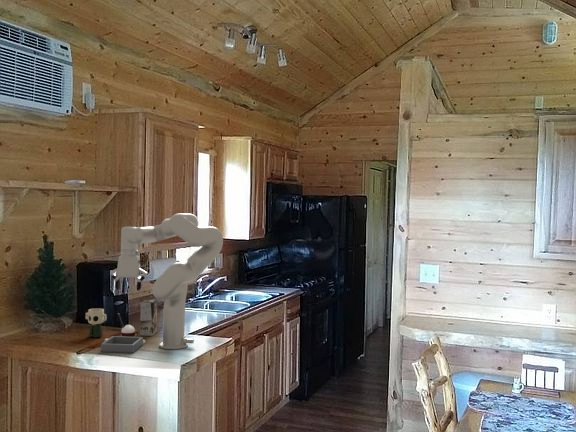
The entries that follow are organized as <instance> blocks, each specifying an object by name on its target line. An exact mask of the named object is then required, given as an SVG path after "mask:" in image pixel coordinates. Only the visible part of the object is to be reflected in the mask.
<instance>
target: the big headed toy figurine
mask: <svg viewBox="0 0 576 432" xmlns="http://www.w3.org/2000/svg"><path fill="white" fill-rule="evenodd" d="M85 320H87V322H88V324H90V325H89V329H88V330H89V331H88V337H89V338H91V337H92V336H93V337H92V338H99V337H102V336H103V326H102V324H103V323H104V322H106V321H107V314H106V313H105V309H104V308H90V309H88V310H87V312H85Z"/></svg>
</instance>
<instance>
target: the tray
mask: <svg viewBox="0 0 576 432" xmlns="http://www.w3.org/2000/svg"><path fill="white" fill-rule="evenodd" d="M107 339H108V340H106V341H105V340H104V341H103V342H101V343H100V353H115V354H116V353H117V354H135V353H136V352H137V351H138V350H139V349H140V348H141V347H143V346H144V344H143V340H144V336H137V337H136V336H134V337H125V336H122V335H120V336H119V335H117V336H116V335H112V336H110V337H109V338H107Z"/></svg>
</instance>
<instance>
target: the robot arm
mask: <svg viewBox="0 0 576 432" xmlns="http://www.w3.org/2000/svg"><path fill="white" fill-rule="evenodd" d="M120 231H121V233H120V255H119V256H118V260H117V268H115V269H113V270H110V273H109V274H110V275H111V278H112V279H113V280H114V281H115V288H116V289H115V290H117V291H118V290H120V289H121V278H123V279H124V278H125V279H126V278H127V279H129V278H130V279H136V280H137V282H136V291H138V292H139V291H140V290H141V289H142V281H144V279H146V277H147V275H148V272H147V271H145V270H144V269H142V268H141V259H140V254H141V251H140V250H139V249H138V247H139V246H138V244H139V245H140V244H149V243H151V244H152V243H153V244H154V243H156V242H160V241H164V240H167V239H170V238H174V237H179V238H180V239H182V240H183V241H184V242H186V243H188V244H189V245H190V246H193V247H196V248H198V249H196V250H195V251H194V252H193V253H192V255H190V256H189V257H188V258H187V259H186V260H183V261H177V262H174V263H172V264H170V265H169V266H168V267H167V268H166V269H165V270H164V271H163V272H162V274H160V275H159V277H157V279H156V280H155V281H154V283H153V286H152V289H151V290H152V295H153V297H154V298H156V300H160V301H164V304H163V314H162V315H163V317H162V319H163V323H162V341H161V342H160V343H159V344H158V346H159V348H161V349H165V350H180V349H185V348H187V347H188V344H194V342H195V339H193V338H192V337H191V338H188V337H187V334H185V323H186V300H187V295H188V283H192V282H194V281H196V279H197V278H199V276H200V275H201V274H202V273H203V272H204V271H205V270H206V269H208V267H209V265H211V263H212V262H213V261H214V260H215V259H217V258H218V256H219V255H220V254H221V251H222V249H223V244H224V237H223V234H222V231H221V230H220V229H219V228H217V227H215V226H210V225H208V226H199V220H198V217H197V215H195V214H192V213H186V212H185V213H175V214H174V215H171V217H169V218H165V219H163V220H162V221H161V224H157V225H153V226H140V227H139V226H137V227H136V226H123V227H122V228H121V230H120ZM115 273H116V274H115ZM141 274H143V275H142V276H141Z"/></svg>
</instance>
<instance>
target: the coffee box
mask: <svg viewBox="0 0 576 432" xmlns="http://www.w3.org/2000/svg"><path fill="white" fill-rule="evenodd" d="M139 317H140V318H139V319H140V321H139V323H140V324H139V336H142V337H144V336H146V337H147V336H148V337H150V336H151V337H152V336H154V335H156V333H157V332H158V331H157V330H158V328H157V327H158V326H157V325H158V299H144V300H143V301H141V302H140V316H139Z"/></svg>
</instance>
